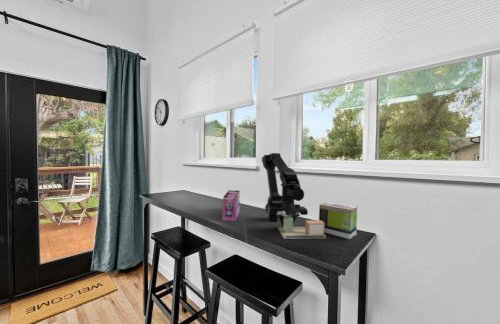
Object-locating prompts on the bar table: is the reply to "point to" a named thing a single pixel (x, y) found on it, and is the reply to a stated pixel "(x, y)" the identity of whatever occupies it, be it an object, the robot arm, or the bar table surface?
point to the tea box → (339, 219)
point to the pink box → (314, 228)
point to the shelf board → (299, 234)
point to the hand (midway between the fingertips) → (286, 227)
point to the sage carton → (287, 223)
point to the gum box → (231, 205)
